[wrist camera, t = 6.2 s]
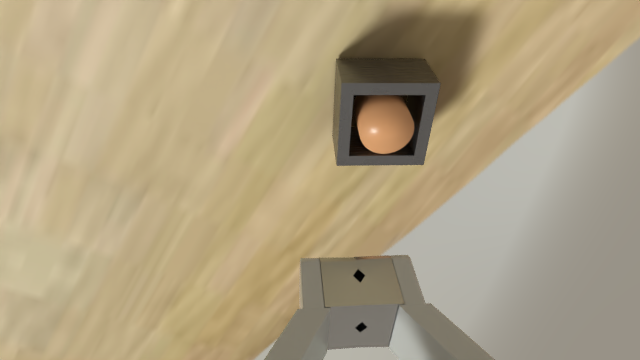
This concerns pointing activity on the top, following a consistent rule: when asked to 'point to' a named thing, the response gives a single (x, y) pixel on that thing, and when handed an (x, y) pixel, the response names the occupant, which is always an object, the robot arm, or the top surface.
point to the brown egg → (383, 122)
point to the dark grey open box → (383, 80)
